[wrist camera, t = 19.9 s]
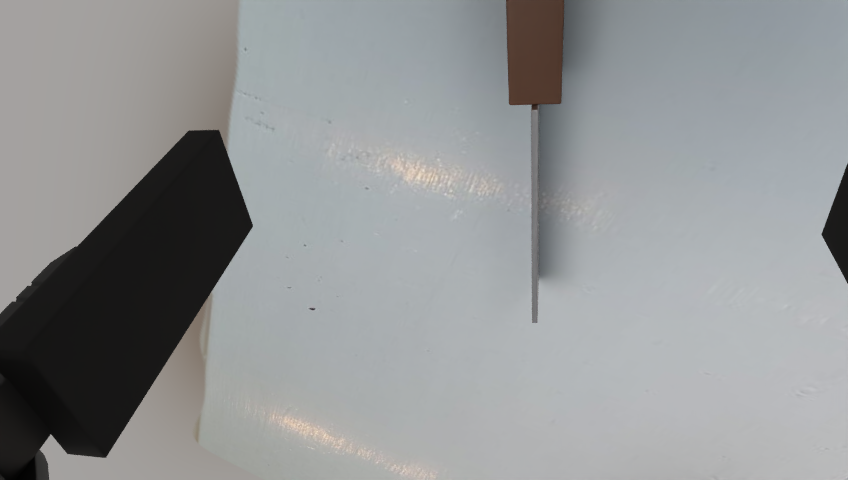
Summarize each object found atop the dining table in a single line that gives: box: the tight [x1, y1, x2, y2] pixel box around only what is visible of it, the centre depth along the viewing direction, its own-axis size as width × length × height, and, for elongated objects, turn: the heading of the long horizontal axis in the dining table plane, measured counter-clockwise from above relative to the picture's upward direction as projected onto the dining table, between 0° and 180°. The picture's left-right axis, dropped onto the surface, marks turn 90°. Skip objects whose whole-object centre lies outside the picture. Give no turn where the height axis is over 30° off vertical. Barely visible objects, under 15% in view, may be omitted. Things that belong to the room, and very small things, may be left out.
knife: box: [506, 0, 564, 323], centre depth 31 cm, size 24×2×4 cm, turn 7°
